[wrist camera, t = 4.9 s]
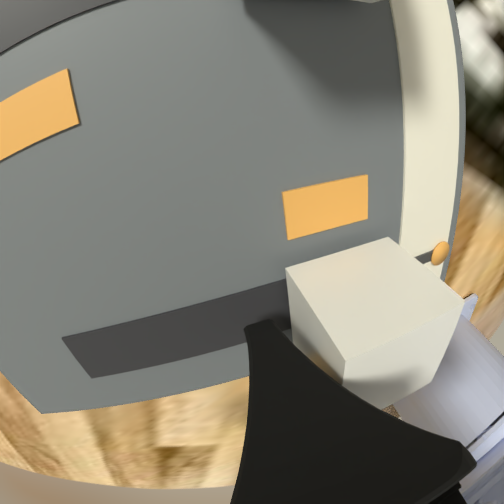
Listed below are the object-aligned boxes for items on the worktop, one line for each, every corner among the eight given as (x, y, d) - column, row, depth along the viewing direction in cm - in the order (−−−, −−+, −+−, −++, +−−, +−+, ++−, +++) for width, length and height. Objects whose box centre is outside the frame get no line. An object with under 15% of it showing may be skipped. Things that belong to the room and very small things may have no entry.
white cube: (378, 317, 12) (431, 381, 9) (293, 349, 12) (335, 430, 8) (387, 236, 10) (465, 300, 7) (285, 267, 10) (345, 360, 6)
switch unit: (423, 284, 15) (442, 302, 14) (45, 391, 12) (40, 418, 11) (407, -68, 5) (433, -77, 4) (-94, 47, 2) (-118, 48, 1)
